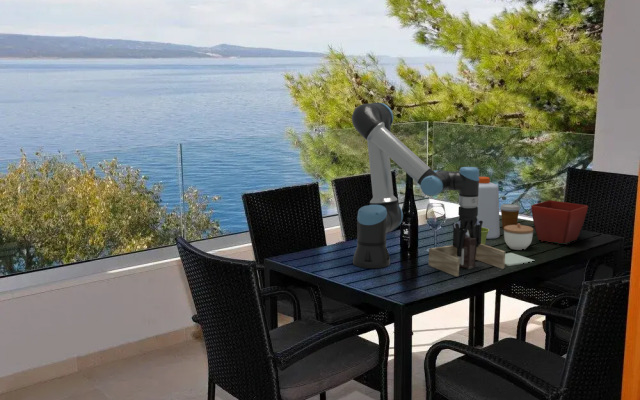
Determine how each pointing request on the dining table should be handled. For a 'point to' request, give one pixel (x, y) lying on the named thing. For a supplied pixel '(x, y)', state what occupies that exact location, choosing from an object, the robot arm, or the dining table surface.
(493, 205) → the plastic bottle
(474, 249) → the box
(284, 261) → the dining table surface
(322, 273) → the dining table surface
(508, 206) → the disposable coffee cup
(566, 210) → the plant pot
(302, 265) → the dining table surface
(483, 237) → the plant pot
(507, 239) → the lidded bowl
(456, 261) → the wooden u-shaped frame
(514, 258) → the plate
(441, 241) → the dining table surface
